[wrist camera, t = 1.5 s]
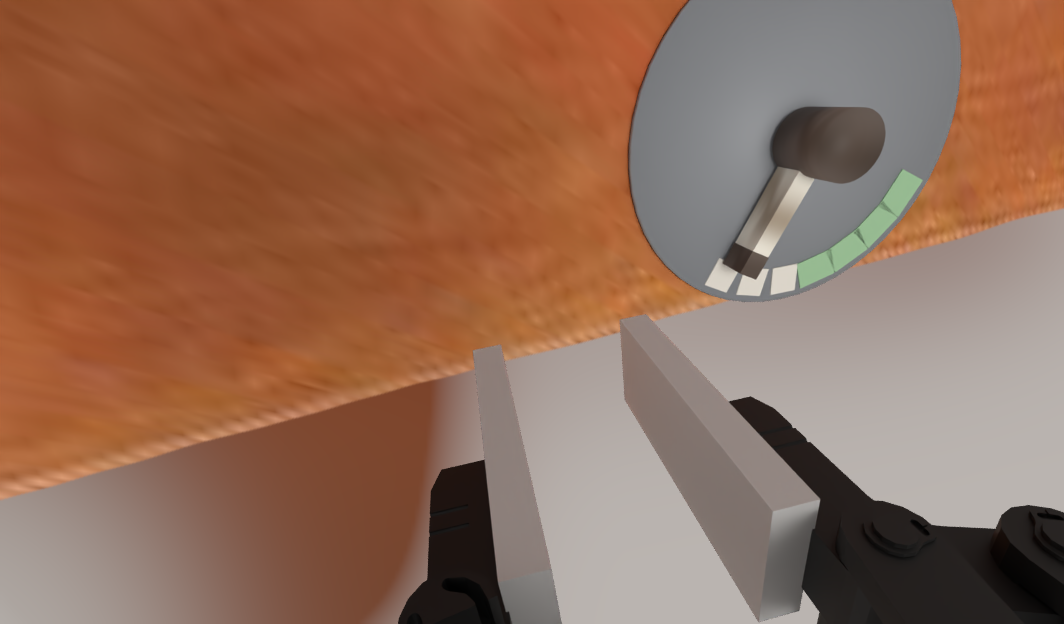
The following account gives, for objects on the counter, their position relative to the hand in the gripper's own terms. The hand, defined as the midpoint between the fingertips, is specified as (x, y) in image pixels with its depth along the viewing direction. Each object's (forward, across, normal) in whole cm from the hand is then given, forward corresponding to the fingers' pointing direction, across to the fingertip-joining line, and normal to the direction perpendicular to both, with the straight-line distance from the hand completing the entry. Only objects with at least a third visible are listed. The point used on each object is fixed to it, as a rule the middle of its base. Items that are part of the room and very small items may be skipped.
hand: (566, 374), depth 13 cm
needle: (+24, +23, -3) cm, 33 cm away
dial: (+25, +25, +1) cm, 35 cm away
